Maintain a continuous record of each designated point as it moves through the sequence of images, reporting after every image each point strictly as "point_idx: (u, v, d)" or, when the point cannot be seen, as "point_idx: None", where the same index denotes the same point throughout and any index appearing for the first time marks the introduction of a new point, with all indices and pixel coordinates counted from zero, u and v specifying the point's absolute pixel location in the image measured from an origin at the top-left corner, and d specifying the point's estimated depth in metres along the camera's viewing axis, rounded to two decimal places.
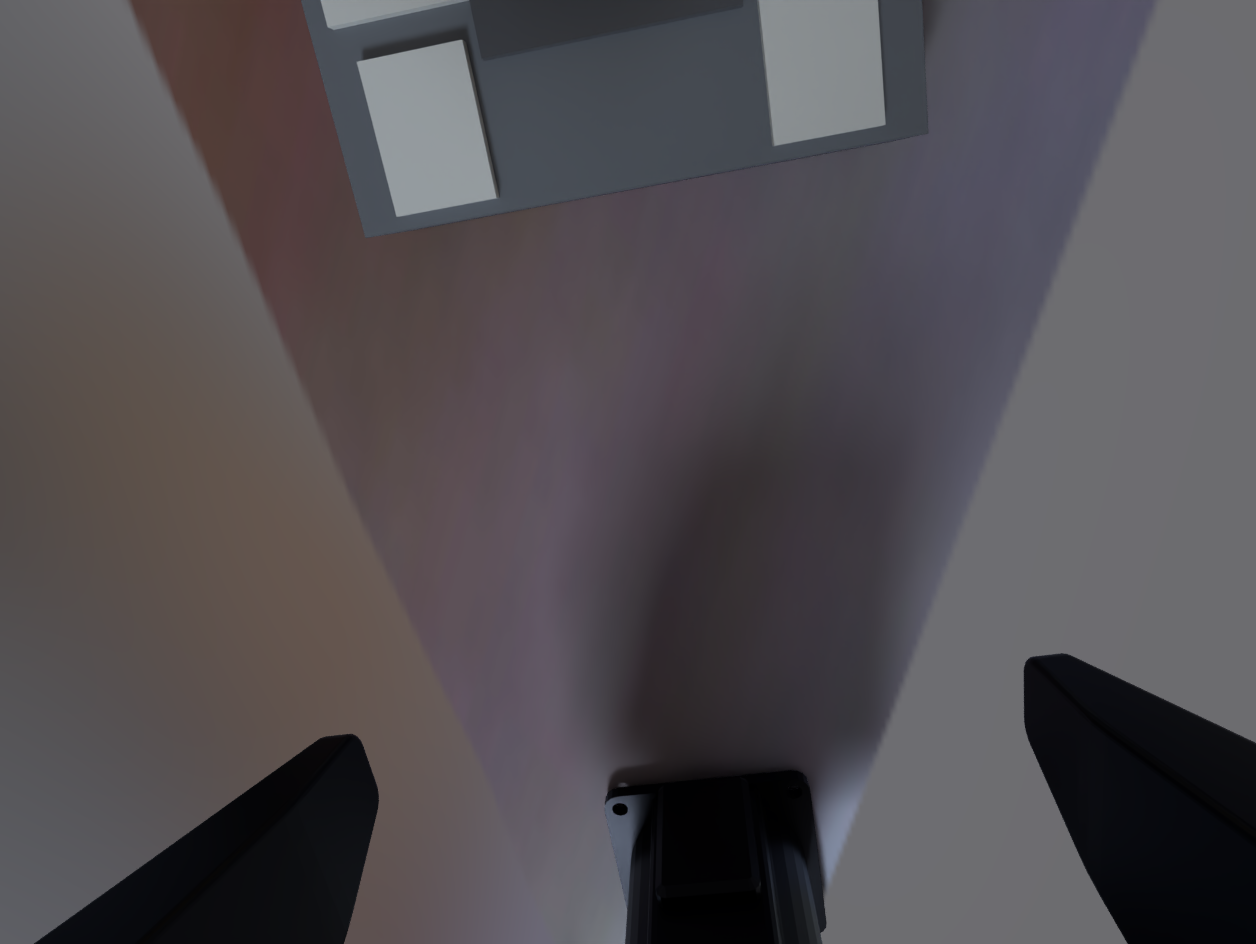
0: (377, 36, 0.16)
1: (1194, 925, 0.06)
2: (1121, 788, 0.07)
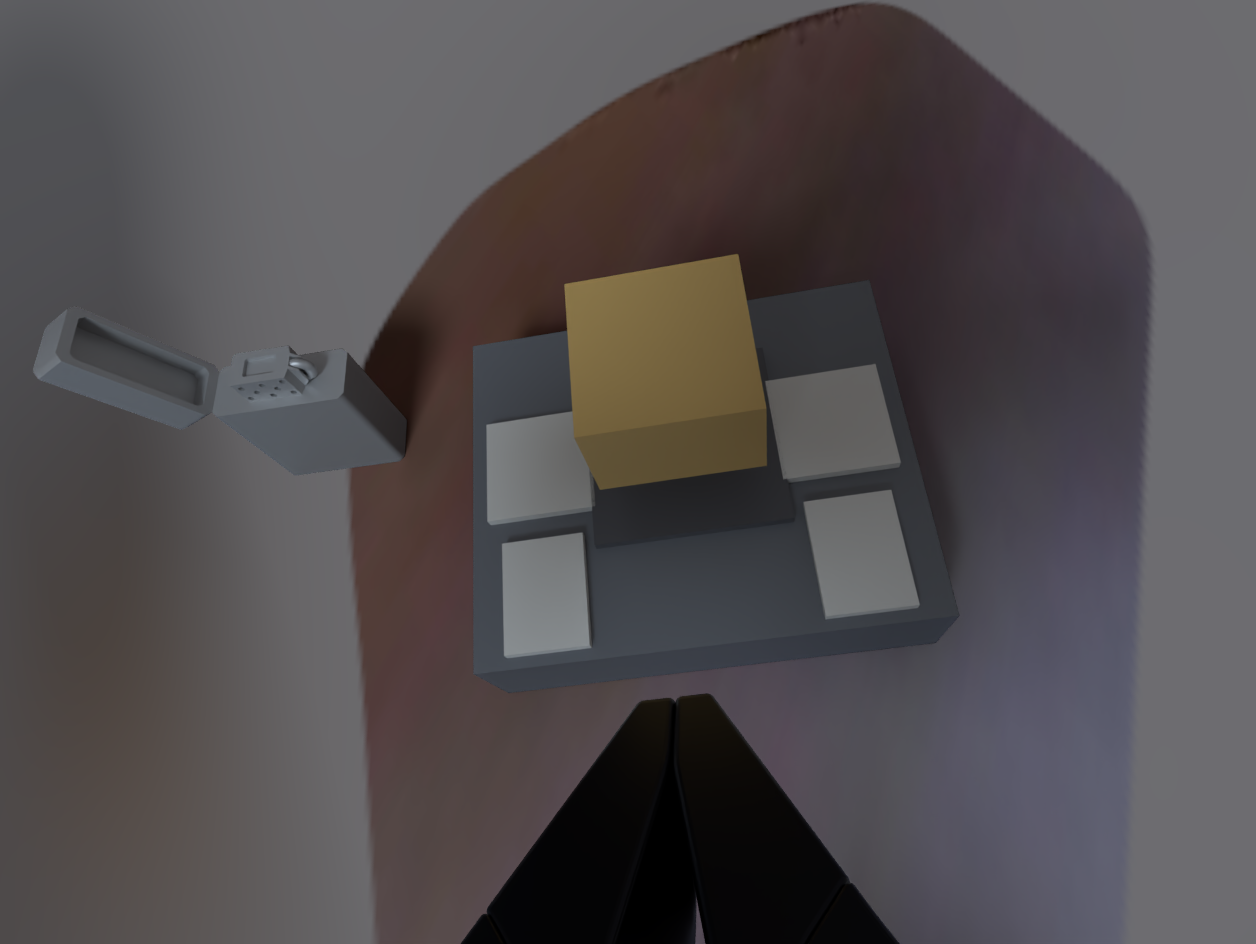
0: (520, 530, 0.22)
1: None
2: None
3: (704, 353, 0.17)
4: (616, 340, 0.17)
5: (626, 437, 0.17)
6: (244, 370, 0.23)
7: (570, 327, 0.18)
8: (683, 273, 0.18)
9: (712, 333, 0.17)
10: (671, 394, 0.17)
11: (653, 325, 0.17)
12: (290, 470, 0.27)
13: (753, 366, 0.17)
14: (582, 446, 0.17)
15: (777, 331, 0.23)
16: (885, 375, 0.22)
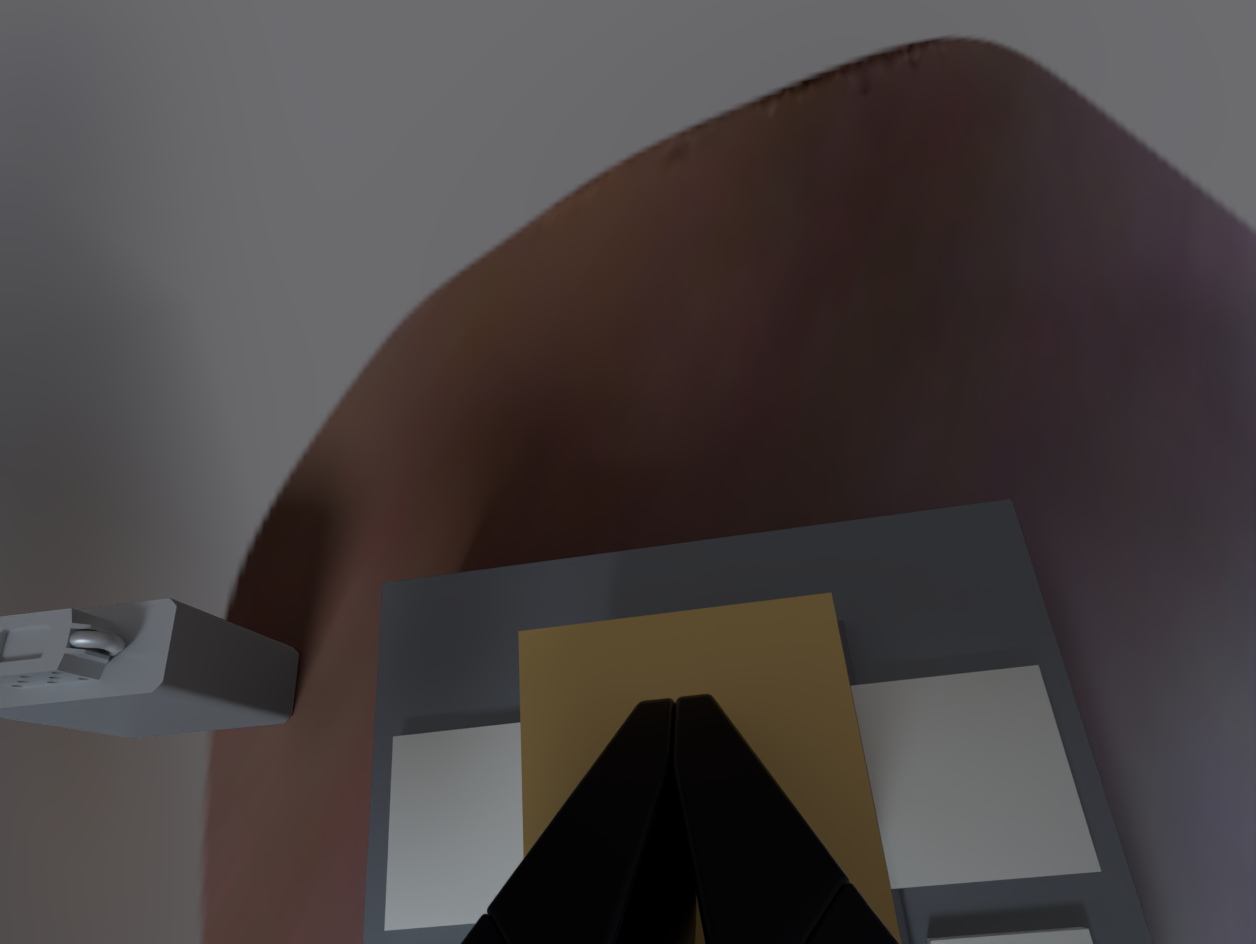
0: None
1: None
2: None
3: None
4: None
5: None
6: None
7: (526, 728, 0.10)
8: (731, 627, 0.10)
9: (790, 770, 0.09)
10: None
11: None
12: (122, 735, 0.18)
13: (874, 860, 0.09)
14: None
15: (865, 584, 0.14)
16: (1053, 681, 0.13)
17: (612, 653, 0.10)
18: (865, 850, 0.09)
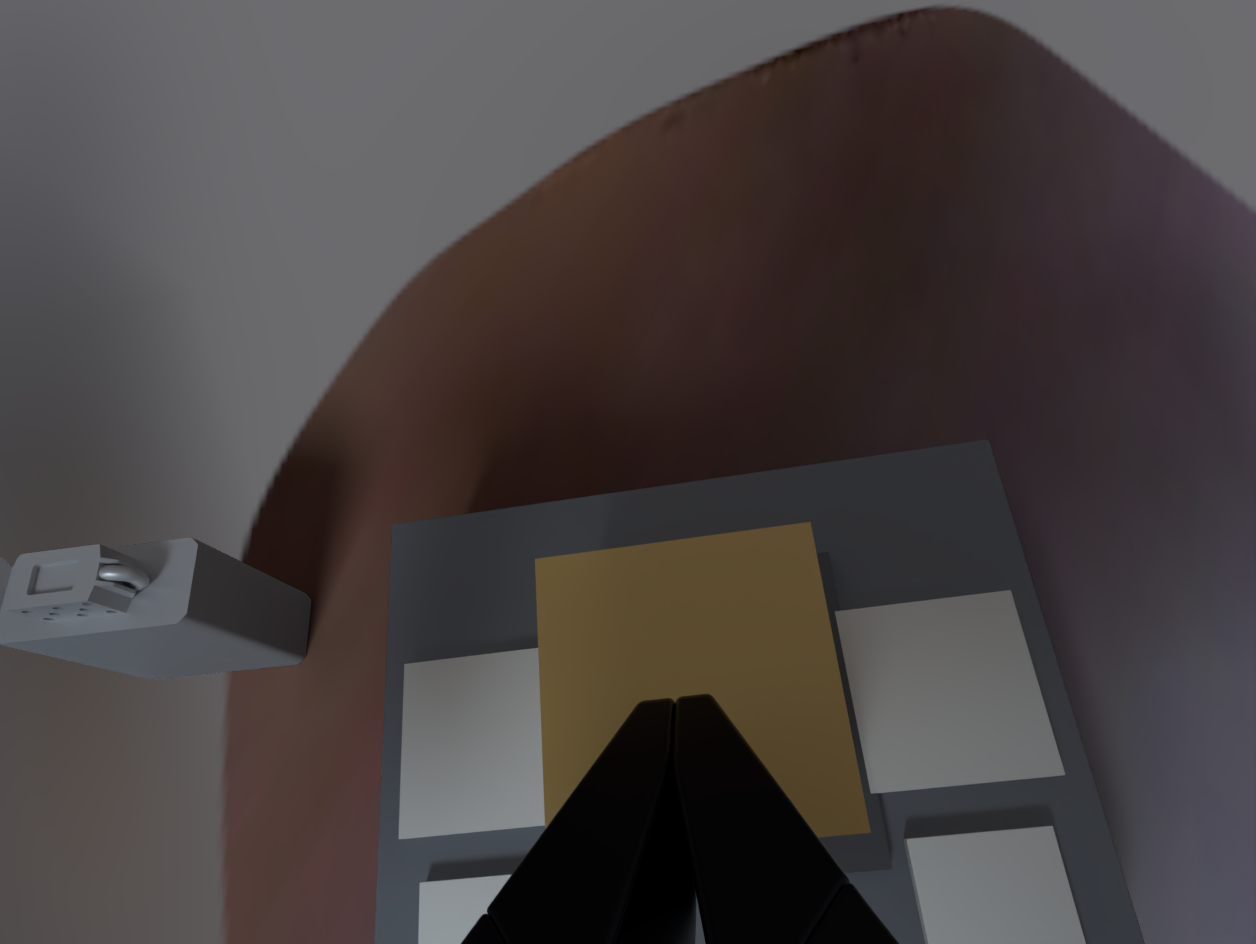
0: (451, 852, 0.14)
1: None
2: None
3: (761, 711, 0.10)
4: (616, 673, 0.11)
5: None
6: (31, 583, 0.15)
7: (543, 640, 0.11)
8: (722, 553, 0.11)
9: (773, 671, 0.10)
10: None
11: (675, 648, 0.11)
12: (143, 676, 0.19)
13: (844, 744, 0.10)
14: None
15: (849, 520, 0.15)
16: (1024, 605, 0.14)
17: (618, 576, 0.11)
18: (837, 736, 0.10)
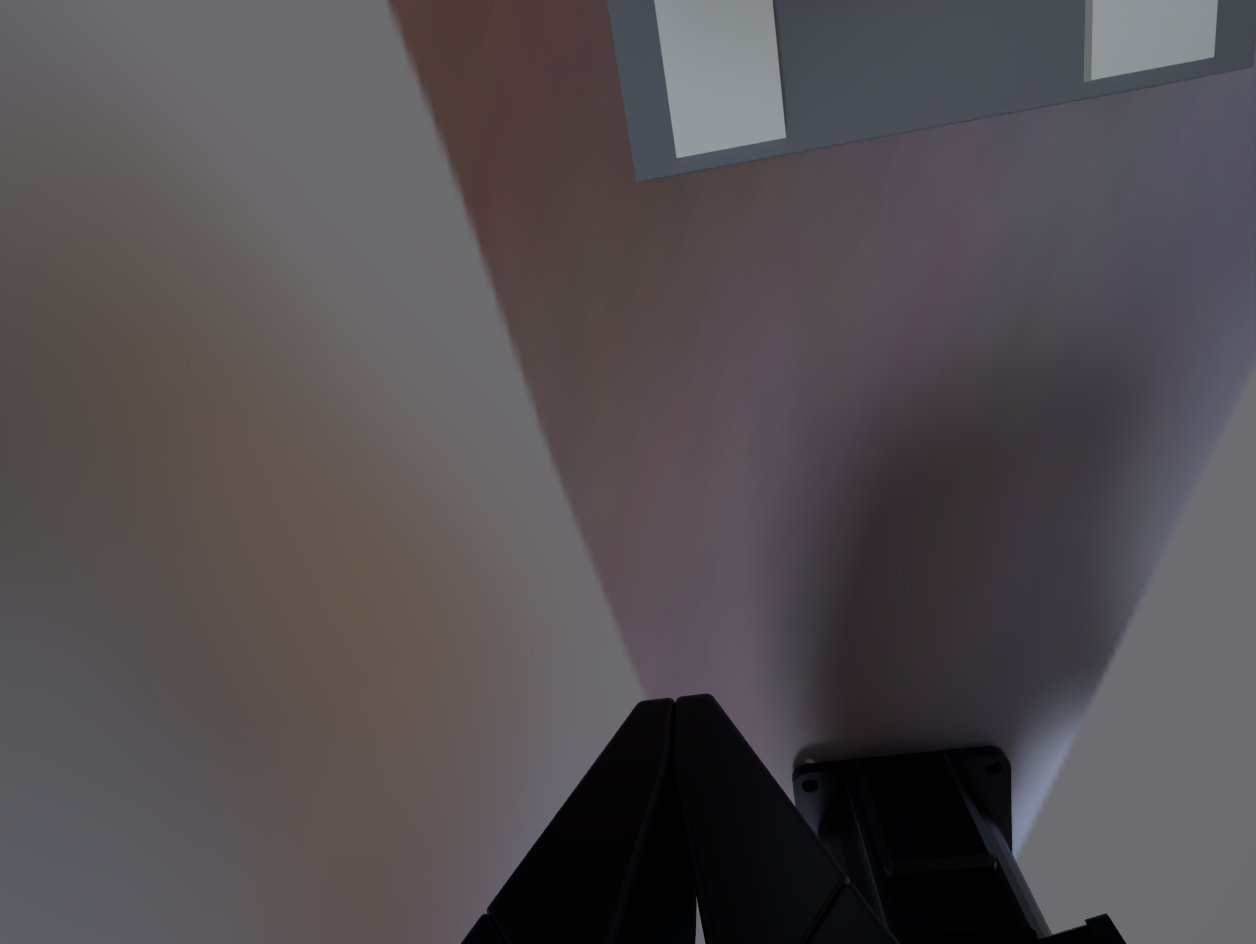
0: None
1: None
2: None
3: None
4: None
5: None
6: None
7: None
8: None
9: None
10: None
11: None
12: None
13: None
14: None
15: None
16: None
17: None
18: None
